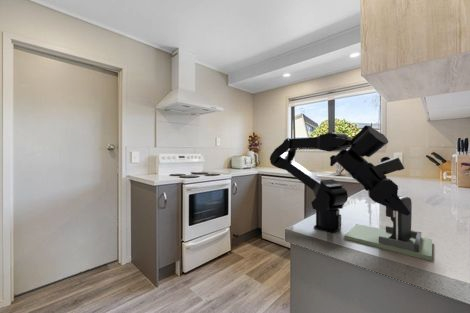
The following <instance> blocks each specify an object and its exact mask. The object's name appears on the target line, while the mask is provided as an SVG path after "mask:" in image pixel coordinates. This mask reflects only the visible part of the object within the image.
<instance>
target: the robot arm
mask: <svg viewBox="0 0 470 313" xmlns="http://www.w3.org/2000/svg"><path fill="white" fill-rule="evenodd" d="M387 144H389V139H388V138H387V137H386V135H385V134H383V133H381V132H380V131H379V130H378V129H375V128H374V127H372V126H371V125H368V124H366V125H364V126H363V127H362V128H361V129H360V131H359V132H358V133H357V134H355V136H354V137H349V136H348V135H347V134H346V133H341V132H340V133H339V132H326V133H324V134H320V135H318V136H314V137H297V138H296V137H295V138H291V137H287V138H286V139H284V140H283V142H282V143H281V144H280V145H278V146H277V147H276V148H275V149H274V150H273V151H272V153H271V154H270V157H269V162H270V165H271V166H273V167H274V168H275V167H276V168H277V169H281V170H285V171H286V172H287V173H289V174H291V175H292V176H293V177H294V178H295V179H297V180H298V181H299V182H301V183H302V184H304V185H305V186H306V187H308V188H309V189H311V191H313V194H314V196H315V198H314V199H313V200H312V201H311V206H312V209H313V210H315V225H314V226H313V228H314V229H316V230H322V231H324V232H329V233H335V234H336V232H338V231H339V230H340V229H342V215H341V214H340V210H341V209H343V208H344V205H345V204H346V202H348V199H349V196H348V191H347V189H345V187H344V185H343V184H340V183H338V182H337V181H336V180H335V179H333V178H332V179H331V178H330V179H322V178H320V177H319V176H317V175H316V174H314V173H313V172H311V171H310V170H309V169H307V168H305V167H304V166H302V165H301V164H299V163H298V162H296V160H295V157H296V152H297V150H298V149H318V150H320V151H323V152H332V153H333V152H335V153H337V152H338V153H337V154H336V155H331V156H329V160H330V161H329V162H330V164H329V166H330V167H333V166H335V164H338V165H339V166H340V167H341V168H342V169H343V170H345V171H346V172H347V173H348V174H349V175H350V176H351V178H353V179H354V180H356V181H357V183H358V184H360V185H361V187H363V189H364V190H365V191H367V193H368V194H367V196H368V198H369V199H371V201H373V203H376V204H379V205H381V206H383V207H385V208H386V207H388V208H391V209H393V210H395V211H397V212H400V213H402V214H404V215H406V216H408V215H409V214H411V213H410V211H409V210H408V209H407V207H406V206H405V205H404V203H403V202H402V201H401V199H400V198H399V197H398V196H399V193H398V191H399V185H397V183H396V182H394V180H392V179H390V178H388V177H387V175H388V174H390V173H394V172H397V171H403V170H404V169H405V166H404V165H403V162H402V161H401V160H400V157H399V156H395V157H392V158H390V157H389V156H387V155H386V156H383V157H381V158H380V162H378V163H376V164H373V163H371V162H368V161H367V160H366V159H365V158H364V157H366V158H371V157H372V156H373V155H375V154H376V153H377V152H378V151H379V150H382V148H383V147H385V146H386V145H387ZM348 148H349V149H348Z"/></svg>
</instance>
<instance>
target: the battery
mask: <svg viewBox="0 0 470 313" xmlns="http://www.w3.org/2000/svg"><path fill="white" fill-rule="evenodd" d="M398 197H399V198H400V199H401V201H402V202H403V203H404V205H405V206H406V207H407V209H408V210H409V211H410V213H411V214H409V215H408V216H406V215H404V214H402V213H400V212H397V211H395V210H393V209H391V208H388V207H386V206H385V217H388V218H390V220H391V222H392V224H393V225H392V227H393V233H392V235H391V236H389V238H391V239H395V240H400V241H404V242H406V241H408V240H409V239H411V230H412V207H413V206H412V204H413V203H412V199H411V198H410V197H408V196H402V195H401V196H400V195H398Z"/></svg>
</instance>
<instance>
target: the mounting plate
mask: <svg viewBox="0 0 470 313" xmlns="http://www.w3.org/2000/svg"><path fill="white" fill-rule="evenodd" d="M392 233H393V226H391V225H385V229H384V228H378V227H373V226H367V225H363V224H360V223H359V224H358V223H356V224H355V225H354V226H353V227H351V229H350V230H348V231H347V232H346V233H345V234H344V235H343V239H344V240H347V241H350V242H355V243H358V244H363V245H367V246H371V247H375V248H378V249H382V250H386V251H391V252H394V253H399V254H403V255H405V256H410V257H415V258H419V259H422V260H426V261H430V262H432V261H433V260H432V258H433V239H432V238H429V237H428V238H427V237H423V236H422V232H420V231H416V230H413V229H411V239H409V240H408V241H406V242H404V241H400V240H395V239H391V238H389V236H391V235H392Z"/></svg>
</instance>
